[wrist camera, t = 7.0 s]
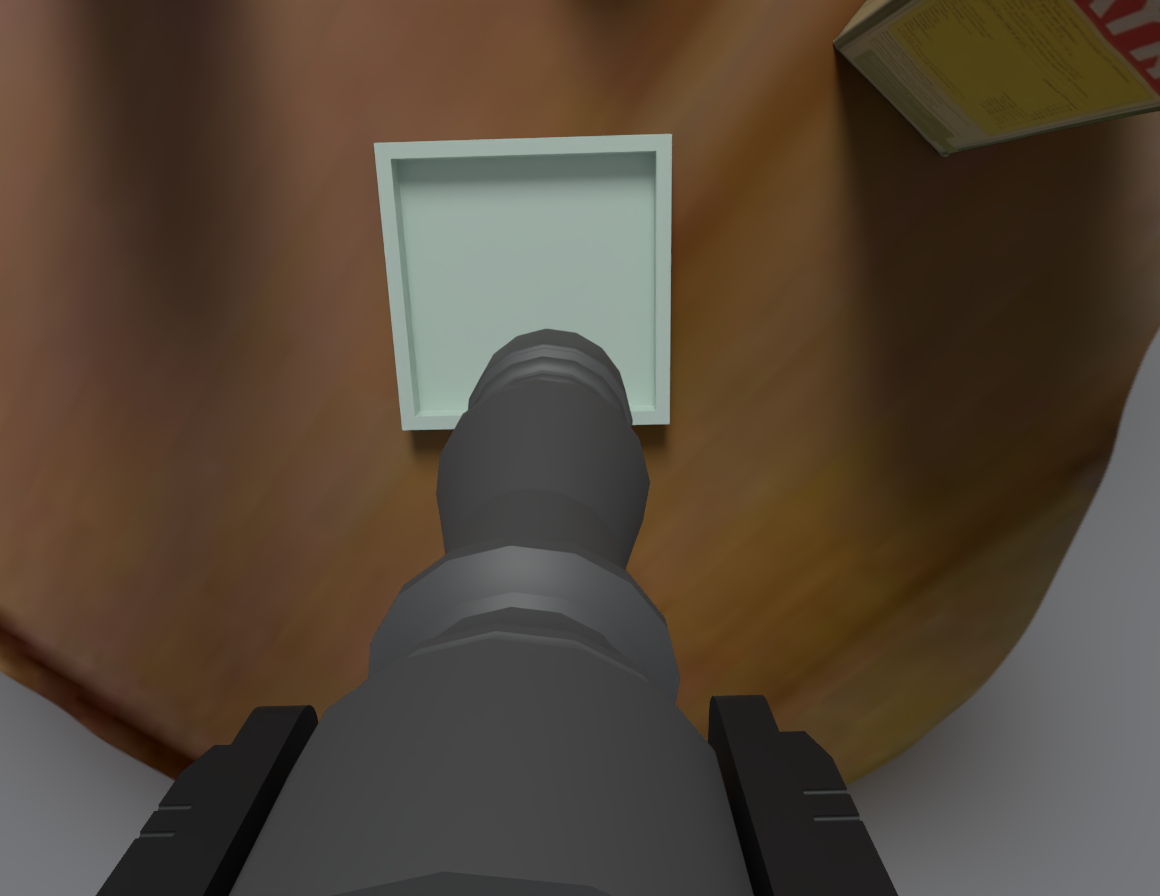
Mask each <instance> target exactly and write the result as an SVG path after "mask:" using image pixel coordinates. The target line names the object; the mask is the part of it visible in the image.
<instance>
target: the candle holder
mask: <svg viewBox="0 0 1160 896" xmlns="http://www.w3.org/2000/svg"><path fill="white" fill-rule="evenodd" d="M632 423H633V419H632V415H631V411H630V407H629V403H628V399H627V395H626V390H625V387H624V384H623V381H622V377H621V374H620V371H619V370H618V369H617V367H616V366H615V365H614V363H613V362H612V360H611V359H610V358H609V356H608V355H607V354H606V352H605V351H604V350H603V348H601V347H600V346H598V345H596V344H595V343H593V342H591V341H590V340H588V339H586V338H584V337H583V336H581V335H579V334H578V333H575V332H568V331H561V330H554V329H547V328H546V329H542V330H538V331H534V332H530V333H527V334H523V335H519V336H516V337H515V338H514V339H512V340H511V341H510V342H509V343H507V344H506V345H505V346H503V347H502V348H501V349H499V350H498V351H497V352H495V353H494V354H493V356H492V358H491V359H490V361H489V363H488V365H487V367H486V368H485V370H484V372H483V374H482V375H481V377H480V379H479V381H478V383H477V385H476V386H475V388H474V390H473V392H472V394H471V396H470V397H469V402H468V410H467V411H466V412H465V413H463V414H462V416H461V418H460V420H459V421H458V423H457V425H456V427H455V429H454V430H453V432H452V434H451V436H450V437H449V439H448V441H447V443H446V445H445V446H444V448H443V450H442V452H441V454H440V459H439V470H438V481H437V493H436V495H437V502H438V508H439V514H440V520H441V526H442V533H443V540H444V547H445V554H446V555H445V556H444V557H442V558H441V559H440V560H438V561H437V562H435V563H434V564H433V565H431V566H430V567H428V568H427V569H426V570H424V571H423V572H421V573H420V574H419V575H417V576H416V577H414V578H413V579H412V580H410V581H409V582H407V583H406V584H405V585H404V586H403V587H402V589H401V590H400V592H399V594H398V595H397V597H396V599H395V601H394V602H393V604H392V606H391V608H390V609H389V611H388V613H387V614H386V616H385V618H384V620H383V621H382V623H381V625H380V627H379V628H378V630H377V632H376V633H375V635H374V637H373V639H372V641H371V644H370V657H369V673H368V679H367V680H365V681H364V682H363V683H362V684H361V685H360V686H359V687H357V688H356V689H355V690H353V691H352V692H350V693H349V694H347V695H346V696H344V697H343V698H342V699H340V700H339V701H337V702H336V703H334V704H333V705H331V706H330V707H329V708H327V710H326V711H325V713H324V715H323V716H322V718H321V720H320V722H319V723H318V725H317V727H316V729H315V730H314V732H313V734H312V736H311V737H310V739H309V741H308V743H307V744H306V746H305V748H304V749H303V751H302V753H301V755H300V756H299V758H298V760H297V762H296V763H295V765H294V767H293V769H292V770H291V772H290V774H289V776H288V778H287V780H286V782H285V784H284V786H283V788H282V790H281V792H280V794H279V796H278V798H277V800H276V802H275V804H274V806H273V808H272V810H271V812H270V814H269V816H268V818H267V820H266V822H265V824H264V826H263V828H262V830H261V832H260V834H259V836H258V838H257V840H256V842H255V844H254V846H253V848H252V850H251V852H250V854H249V856H248V858H247V860H246V862H245V864H244V866H243V868H242V870H241V872H240V874H239V876H238V878H237V880H236V882H235V884H234V886H233V888H232V890H231V892H230V894H229V896H754V895H753V891H752V887H751V884H750V880H749V876H748V872H747V869H746V865H745V861H744V857H743V854H742V850H741V846H740V843H739V839H738V835H737V831H736V828H735V824H734V820H733V816H732V813H731V809H730V805H729V801H728V798H727V794H726V790H725V787H724V783H723V779H722V775H721V772H720V768H719V764H718V760H717V757H716V753H715V751H714V749H713V748H712V747H711V746H710V745H709V743H708V742H707V741H706V740H705V739H704V738H703V736H702V735H701V734H700V733H699V732H698V730H697V729H696V728H695V727H694V726H693V725H692V723H691V722H690V721H689V720H688V719H687V717H686V716H685V715H684V714H683V713H682V712H681V710H680V709H679V708H678V707H677V706H676V704H675V702H676V697H677V692H678V688H679V683H680V676H679V672H678V668H677V664H676V660H675V656H674V652H673V648H672V644H671V640H670V636H669V632H668V628H667V624H666V620H665V618H664V616H663V615H662V614H661V612H660V611H659V610H658V609H657V607H656V606H655V605H654V604H653V602H652V601H651V600H650V599H649V598H648V596H647V595H646V594H645V593H644V591H643V590H642V589H641V588H640V587H639V585H638V584H637V583H636V582H635V580H634V579H633V578H632V577H631V575H630V574H629V573H628V572H627V571H626V570H625V569H626V566H627V563H628V561H629V558H630V555H631V552H632V549H633V546H634V543H635V541H636V538H637V535H638V533H639V530H640V527H641V524H642V522H643V517H644V512H645V507H646V501H647V496H648V490H649V485H650V480H649V476H648V472H647V468H646V464H645V460H644V456H643V451H642V447H641V443H640V440H639V437H638V436H637V434H636V433H635V432H634V430H633V429H632Z"/></svg>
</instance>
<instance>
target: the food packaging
mask: <svg viewBox="0 0 1160 896" xmlns="http://www.w3.org/2000/svg"><path fill="white" fill-rule="evenodd" d="M833 43H834V46H835V48H836V49H837V50H838V51H839V52H840V53H841V54H842V55H843V56H844V57H845V58H846V59H847V60H848V61H849V62H850V63H851V64H852V65H853V66H854V67H855V68H856V69H857V70H858V71H859V72H860V73H861V74H862V75H863V76H864V77H865V78H866V79H867V80H868V81H869V82H870V83H871V84H872V85H873V86H874V87H875V88H876V89H877V90H878V91H879V92H880V93H881V94H882V95H883V96H884V97H885V98H886V99H887V100H888V101H889V102H890V103H891V104H892V105H893V106H894V107H895V108H896V109H897V110H898V112H899V113H900V114H901V115H902V116H903V117H904V118H905V119H906V120H907V121H908V122H909V123H910V124H911V125H912V126H913V127H914V128H915V129H916V130H917V131H918V132H919V133H920V134H921V135H922V136H923V138H924V139H925V140H926V141H927V142H928V143H929V144H930V145H932V146H933V148H934V149H935V150H936V151H937V152H938V153H939V155H940V156H944V157H947V156H948V155H949V154H951V153H955V152H959V151H964V150H969V149H973V148H978V147H983V146H988V145H993V144H998V143H1002V142H1007V141H1012V140H1016V139H1020V138H1025V137H1029V136H1034V135H1038V134H1043V133H1048V132H1053V131H1058V130H1063V129H1068V128H1073V127H1078V126H1083V125H1088V124H1093V123H1098V122H1103V121H1108V120H1113V119H1118V118H1123V117H1128V116H1133V115H1138V114H1144V113H1150V112H1155V111H1160V0H866V2H865V3H864V4H863V5H862V6H861V8H860V9H859V10H858V11H857V12H856V14H855V15H854V16H853V17H852V18H851V20H850V21H849V22H848V24H847V25H846V27H845V28H844V29H843V30H842V31H841V33H840V34H839V35H838V36H837V38H836V39H835V40H834V41H833Z"/></svg>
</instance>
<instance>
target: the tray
mask: <svg viewBox="0 0 1160 896" xmlns="http://www.w3.org/2000/svg"><path fill="white" fill-rule="evenodd" d="M374 149H375V159H376V169H377V180H378V190H379V200H380V210H381V220H382V230H383V240H384V250H385V260H386V270H387V281H388V291H389V301H390V311H391V321H392V331H393V341H394V351H395V361H396V371H397V382H398V392H399V402H400V412H401V422H402V430H436V429H455V427H456V425H457V423H458V421H459V420H460V418H461V416H462V414H463V413H465V412H466V411H467V410H468V402H469V397H470V396H471V394H472V392H473V390H474V388H475V386H476V385H477V383H478V381H479V379H480V377H481V375H482V374H483V372H484V370H485V368H486V367H487V365H488V363H489V361H490V359H491V358H492V356H493V354H494V353H495V352H497V351H498V350H499V349H501V348H502V347H503V346H505V345H506V344H507V343H509V342H510V341H511V340H512V339H514V338H515V337H516V336H519V335H523V334H527V333H530V332H534V331H538V330H542V329H546V328H547V329H554V330H561V331H568V332H575V333H578V334H579V335H581V336H583V337H584V338H586V339H588V340H590V341H591V342H593V343H595V344H596V345H598V346H600V347H601V348H603V350H604V351H605V352H606V354H607V355H608V356H609V358H610V359H611V360H612V362H613V363H614V365H615V366H616V367H617V369H618V370H619V371H620V374H621V377H622V381H623V384H624V387H625V390H626V395H627V399H628V403H629V407H630V411H631V415H632V419H633V423H632V425H650V424H670V315H671V185H672V134H651V135H618V136H586V137H553V138H520V139H488V140H455V141H423V142H390V143H374Z"/></svg>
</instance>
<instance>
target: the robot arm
mask: <svg viewBox="0 0 1160 896" xmlns="http://www.w3.org/2000/svg"><path fill="white" fill-rule="evenodd" d="M317 725H318V719H317V715H316V712H315V710H314V708H313V707H312V706H310V705H302V706H264V707H257V708H255V709H254V710H253V711H252V713H251V714H250V715H249V717H248V719H247V720H246V722H245V723H244V725H243V726H242V728H241V730H240V731H239V733H238V734H237V736H236V737H235V739H234V741H233V742H232V744H231V745H214V746H213V747H212V748H211V749H209V750H208V751H207V752H206V753H204V754H203V755H202V756H201V757H200V758H198V759H197V760H196V761H195V762H193V763H192V764H191V765H190V766H189V767H187V768H186V769H185V770H184V771H182V772H181V773H180V775H179V776H178V778H177V779H176V781H175V782H174V783H173V785H172V786H171V788H170V789H169V791H168V792H167V794H166V795H165V796H164V798H163V799H162V801H161V802H160V804H159V809H158V811H154V812H153V814H152V815H151V817H150V818H149V820H148V821H147V823H146V824H145V825H144V827H143V828H142V830H141V831H140V837H139V839H135V840H134V841H133V843H132V844H131V846H130V847H129V848H128V850H127V852H126V853H125V854H124V856H123V857H122V859H121V860H120V861H119V863H118V864H117V866H116V867H115V869H114V870H113V872H112V873H111V875H110V876H109V877H108V879H107V880H106V882H105V883H104V885H103V886H102V888H101V889H100V891H99V892H98V893H97V895H96V896H229V894H230V892H231V890H232V888H233V886H234V884H235V882H236V880H237V878H238V876H239V874H240V872H241V870H242V868H243V866H244V864H245V862H246V860H247V858H248V856H249V854H250V852H251V850H252V848H253V846H254V844H255V842H256V840H257V838H258V836H259V834H260V832H261V830H262V828H263V826H264V824H265V822H266V820H267V818H268V816H269V814H270V812H271V810H272V808H273V806H274V804H275V802H276V800H277V798H278V796H279V794H280V792H281V790H282V788H283V786H284V784H285V782H286V780H287V778H288V776H289V774H290V772H291V770H292V769H293V767H294V765H295V763H296V762H297V760H298V758H299V756H300V755H301V753H302V751H303V749H304V748H305V746H306V744H307V743H308V741H309V739H310V737H311V736H312V734H313V732H314V730H315V729H316V727H317ZM708 743H709V745H710V746H711V747H712V748H713V749H714V751H715V753H716V757H717V760H718V764H719V768H720V772H721V775H722V779H723V783H724V787H725V790H726V794H727V798H728V801H729V805H730V809H731V813H732V816H733V820H734V824H735V828H736V831H737V835H738V839H739V843H740V846H741V850H742V854H743V857H744V861H745V865H746V869H747V872H748V876H749V880H750V884H751V887H752V891H753V895H754V896H898V894H897V892H896V890H895V888H894V886H893V884H892V882H891V880H890V877H889V875H888V873H887V871H886V869H885V867H884V865H883V863H882V861H881V859H880V857H879V855H878V852H877V850H876V848H875V847H874V844H873V842H872V840H871V838H870V836H869V834H868V832H867V829H866V827H865V825H864V823H863V821H860V818H859V813H858V811H857V809H856V807H855V804H854V802H853V800H852V798H851V796H850V794H847V788H846V786H845V783H844V781H843V779H842V777H841V775H840V773H839V771H838V769H837V767H836V765H835V763H834V760H833V758H832V757H831V756H830V755H829V754H828V753H827V752H826V751H825V750H824V749H823V748H822V747H821V746H820V745H819V744H818V743H816V742H815V741H814V740H813V739H812V738H811V737H810V736H809V735H808V734H807V733H806V732H805V731H796V732H779V730H778V727H777V725H776V722H775V720H774V717H773V715H772V712H771V710H770V707H769V705H768V702H767V700H766V698H765V697H764V696H763V695H738V696H712V697H711V700H710V708H709V731H708Z"/></svg>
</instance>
